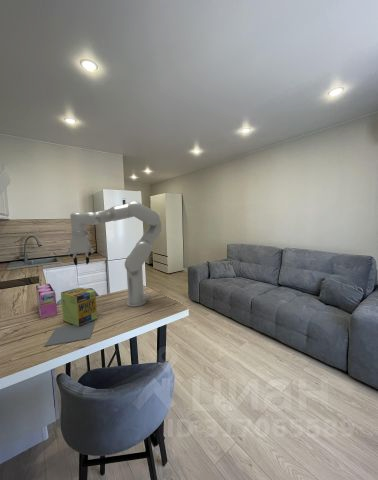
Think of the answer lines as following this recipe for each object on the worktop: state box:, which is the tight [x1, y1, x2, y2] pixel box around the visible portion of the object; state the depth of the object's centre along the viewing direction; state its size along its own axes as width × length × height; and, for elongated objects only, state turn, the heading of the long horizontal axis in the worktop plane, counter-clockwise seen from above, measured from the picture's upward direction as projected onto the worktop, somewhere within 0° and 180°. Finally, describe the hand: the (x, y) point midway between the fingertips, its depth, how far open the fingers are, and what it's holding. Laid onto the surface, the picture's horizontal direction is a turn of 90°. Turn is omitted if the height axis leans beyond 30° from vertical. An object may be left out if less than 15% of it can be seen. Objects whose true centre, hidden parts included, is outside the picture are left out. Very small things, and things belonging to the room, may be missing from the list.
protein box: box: [60, 287, 98, 326], centre depth 113 cm, size 10×15×16 cm
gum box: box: [35, 283, 58, 319], centre depth 127 cm, size 24×8×14 cm, turn 40°
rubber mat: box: [43, 321, 96, 348], centre depth 100 cm, size 18×16×1 cm
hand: (81, 263), depth 126 cm, fingers open, 5 cm apart
